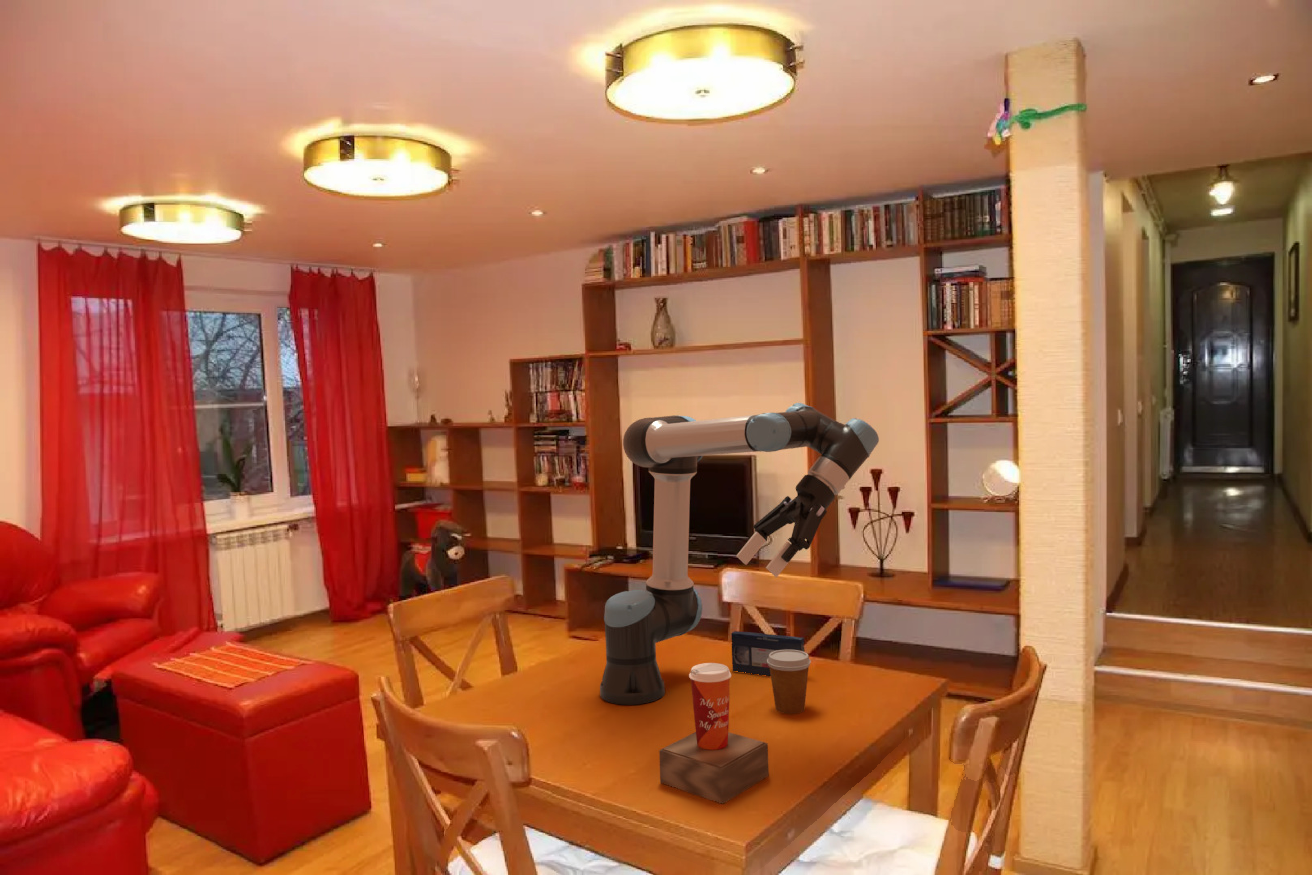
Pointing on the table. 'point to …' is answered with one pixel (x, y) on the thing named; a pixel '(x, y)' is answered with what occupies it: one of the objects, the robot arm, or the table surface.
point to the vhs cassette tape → (759, 650)
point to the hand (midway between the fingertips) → (755, 566)
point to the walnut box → (714, 767)
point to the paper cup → (711, 704)
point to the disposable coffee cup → (789, 679)
